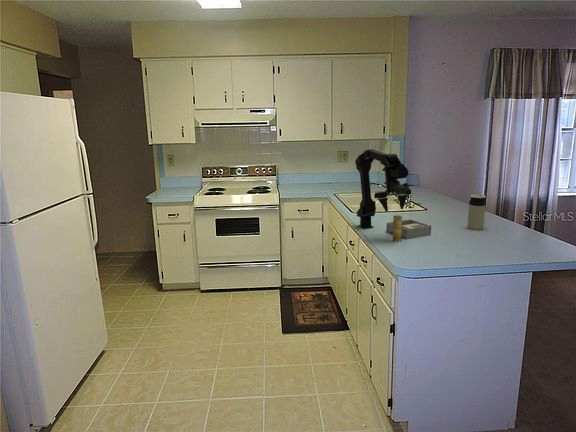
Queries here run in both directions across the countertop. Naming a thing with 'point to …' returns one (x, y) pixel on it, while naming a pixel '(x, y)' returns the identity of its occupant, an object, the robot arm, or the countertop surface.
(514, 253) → the countertop surface
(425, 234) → the bore box
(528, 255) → the countertop surface
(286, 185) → the countertop surface
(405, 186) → the robot arm
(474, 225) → the travel mug
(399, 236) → the peg
